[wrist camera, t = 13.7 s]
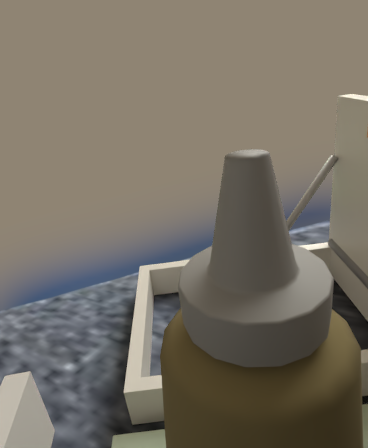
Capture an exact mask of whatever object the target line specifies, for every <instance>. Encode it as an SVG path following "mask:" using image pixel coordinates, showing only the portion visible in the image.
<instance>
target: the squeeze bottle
mask: <svg viewBox="0 0 368 448" xmlns="http://www.w3.org/2000/svg"><path fill="white" fill-rule="evenodd" d="M333 285H334V278H333V276H332V274H331V272H330V271H329V269H328V267H327V265H326V264H325V262H324V261H323V260H321V259H320V258H319V257H317V256H316V255H314V254H313V253H311V252H310V251H308V250H307V249H305V248H303V247H300V246H296V245H293V244H291V239H290V235H289V231H288V227H287V223H286V219H285V215H284V211H283V207H282V202H281V198H280V194H279V190H278V186H277V182H276V178H275V173H274V170H273V165H272V161H271V157H270V153H269V152H267V151H265V150H241V151H236V152H232V153H229V154H227V155H226V156H225V160H224V167H223V174H222V181H221V189H220V195H219V203H218V210H217V216H216V223H215V230H214V237H213V244H212V246H211V247H209V248H207V249H205V250H203V251H202V252H200V253H198V254H196V255H194V256H193V257H192V258H191V259H190V261H189V262H188V263H187V264H186V265H185V266H184V268H183V269H182V270H181V271H180V276H179V283H178V292H179V298H180V305H181V308H180V310H179V311H178V312H177V314H176V315H175V316H174V318H173V319H172V320H171V322H170V323H169V324H168V326H167V327H166V328H165V331H164V337H163V343H162V349H161V355H160V359H161V375H162V391H163V407H164V423H165V438H166V448H363V415H362V373H361V348H360V346H359V344H358V342H357V340H356V338H355V336H354V334H353V333H352V331H351V329H350V327H349V325H348V323H347V321H346V320H345V319H343V318H342V317H341V316H340V315H339V314H337V313H336V312H335V311H334V310H333V309H332V299H333Z"/></svg>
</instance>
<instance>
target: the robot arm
mask: <svg viewBox="0 0 368 448" xmlns="http://www.w3.org/2000/svg"><path fill="white" fill-rule="evenodd" d="M54 431H55V430H54V428H53V425H52V423H51V420H50V418H49V415H48V413H47V411H46V408H45V406H44V403H43V401H42V398H41V396H40V394H39V391H38V389H37V386H36V384H35V381H34V379H33V377H32V374H31V372H24V373H19V374H13V375H8V376H5V377H4V379H3V382H2V384H1V386H0V448H51V445H52V440H53V436H54Z"/></svg>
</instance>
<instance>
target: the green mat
mask: <svg viewBox="0 0 368 448" xmlns="http://www.w3.org/2000/svg"><path fill="white" fill-rule="evenodd" d="M362 415H363V448H368V404H363V405H362ZM111 448H166V438H165V429H161V430H153V431H145V432H137V433H129V434H121V435H113V440H112V447H111Z"/></svg>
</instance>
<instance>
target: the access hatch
mask: <svg viewBox="0 0 368 448" xmlns="http://www.w3.org/2000/svg"><path fill="white" fill-rule="evenodd" d="M333 166H334V167H333ZM332 167H333V168H334V169H333V183H332V200H331V215H330V231H329V241H328V242H327V243H319V244H311V245H303V246H300V247H303V248H305V249H307V250H308V251H310V252H311V253H313V254H314V255H316V256H317V257H319V258H320V259H321V260H323V261H324V262H325V264H326V265H327V267H328V269H329V271H330V272H331V274H332V276H333V278H334V280H335V281H336V282H337V283H338V285H339V286H340V287H341V288H342V290H343V291H344V292H345V293H346V295H347V296H348V297H349V299H350V300H351V301H352V302H353V304H354V305H355V306H356V307H357V309H358V310H359V311H360V312H361V314H362V315H363V316H364V318H365V319H366V320H367V321H368V96H362V95H355V94H348V95H341V96H338V103H337V120H336V136H335V151H334V155H331V156H330V157H329V159H328V160H327V162H326V163H325V165H324V166H323V168H322V169H321V171H320V172H319V174H318V175H317V176H316V178H315V179H314V181H313V183H312V184H311V185H310V187H309V188H308V190H307V192H306V193H305V194H304V196H303V197H302V199H301V200H300V202H299V203H298V205H297V206H296V208H295V209H294V211H293V212H292V214H291V215H290V216H289V218H288V219H287V221H286V223H287V227H288V231H289V230H290V228H291V227H292V225H293V224H294V222H295V221H296V220H297V218H298V217H299V215H300V214H301V212H302V211H303V209H304V208H305V207H306V205H307V204H308V202H309V201H310V199H311V198H312V196H313V195H314V193H315V192H316V190H317V189H318V188H319V186H320V185H321V183H322V182H323V180H324V179H325V177H326V176H327V174H328V173H329V172H330V170H331V169H332ZM189 261H190V260H185V261H177V262H170V263H162V264H154V265H146V266H140V270H139V278H138V285H137V293H136V301H135V309H134V316H133V324H132V332H131V339H130V347H129V355H128V363H127V370H126V378H125V386H124V396H125V400H126V404H127V407H128V411H129V415H130V418H131V422H132V425H135V424H143V423H151V422H159V421H164V407H163V391H162V375H158V376H150V363H151V344H152V324H153V305H154V295H159V294H167V293H175V292H178V283H179V276H180V271H181V270H182V269H183V268H184V266H185V265H186V264H187V263H188V262H189ZM361 373H362V396H368V349H366V350H361Z"/></svg>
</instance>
